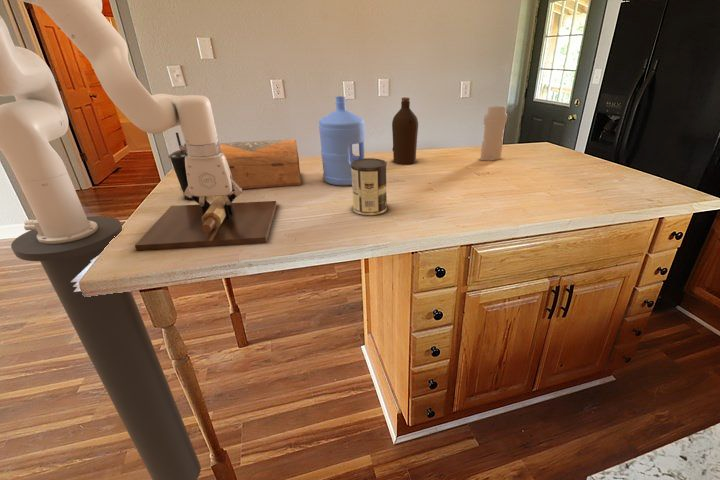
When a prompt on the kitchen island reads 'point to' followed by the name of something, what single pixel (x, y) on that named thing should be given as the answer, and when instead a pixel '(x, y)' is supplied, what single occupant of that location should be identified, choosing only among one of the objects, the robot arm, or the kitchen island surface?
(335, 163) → the water jug
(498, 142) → the tall pale column
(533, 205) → the kitchen island surface
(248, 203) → the pastry board
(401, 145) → the olive oil
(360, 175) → the coffee can
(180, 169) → the drinking cup
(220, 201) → the rolling pin
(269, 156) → the wooden box
